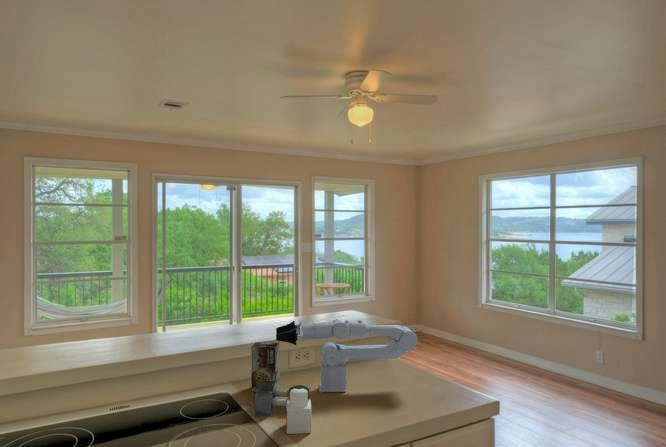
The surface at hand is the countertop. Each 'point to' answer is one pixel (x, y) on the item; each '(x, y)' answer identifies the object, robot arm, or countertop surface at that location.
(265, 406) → the mount
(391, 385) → the countertop surface
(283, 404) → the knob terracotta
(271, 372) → the coffee box
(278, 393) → the knob dark gray
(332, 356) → the robot arm
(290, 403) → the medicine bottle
